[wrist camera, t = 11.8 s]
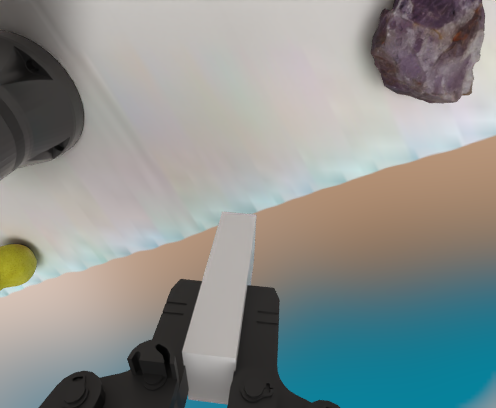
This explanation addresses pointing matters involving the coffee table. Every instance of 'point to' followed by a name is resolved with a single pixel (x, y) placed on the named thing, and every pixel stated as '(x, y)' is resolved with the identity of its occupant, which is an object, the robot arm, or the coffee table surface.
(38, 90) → the robot arm
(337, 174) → the coffee table surface
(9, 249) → the fruit
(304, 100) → the coffee table surface
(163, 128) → the coffee table surface
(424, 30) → the rock
